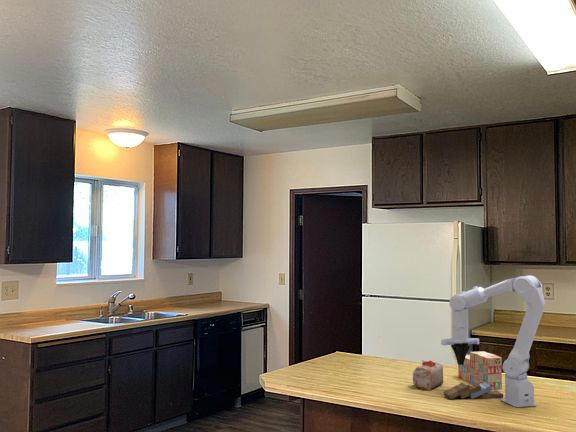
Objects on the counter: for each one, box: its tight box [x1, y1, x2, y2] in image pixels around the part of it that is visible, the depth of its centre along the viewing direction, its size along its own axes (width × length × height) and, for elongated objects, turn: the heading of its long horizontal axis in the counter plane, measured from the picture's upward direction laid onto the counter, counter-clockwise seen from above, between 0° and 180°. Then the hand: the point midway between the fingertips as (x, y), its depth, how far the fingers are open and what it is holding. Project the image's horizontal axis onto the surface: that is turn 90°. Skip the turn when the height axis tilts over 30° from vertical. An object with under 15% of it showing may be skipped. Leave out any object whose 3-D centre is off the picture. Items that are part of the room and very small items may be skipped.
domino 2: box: [457, 382, 482, 400], centre depth 205 cm, size 2×5×8 cm
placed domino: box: [467, 382, 493, 400], centre depth 205 cm, size 2×5×8 cm
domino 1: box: [442, 382, 470, 400], centre depth 204 cm, size 2×5×8 cm
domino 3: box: [477, 390, 504, 400], centre depth 206 cm, size 2×5×8 cm
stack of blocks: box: [457, 351, 503, 391], centre depth 226 cm, size 21×6×12 cm, turn 14°
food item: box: [412, 360, 444, 391], centre depth 220 cm, size 14×8×10 cm, turn 143°
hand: (460, 364), depth 211 cm, fingers closed
